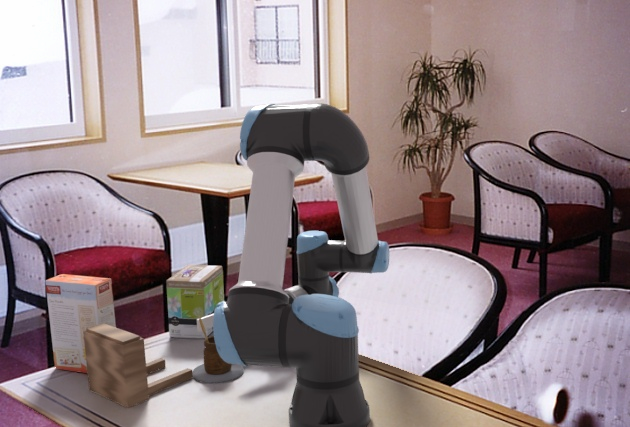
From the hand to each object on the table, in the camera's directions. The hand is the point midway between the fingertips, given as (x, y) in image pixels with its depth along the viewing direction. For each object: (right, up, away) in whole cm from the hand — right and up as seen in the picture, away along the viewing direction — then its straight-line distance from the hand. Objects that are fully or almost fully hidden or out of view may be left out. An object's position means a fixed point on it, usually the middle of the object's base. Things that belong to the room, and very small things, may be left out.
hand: (218, 331), depth 176 cm
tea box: (-8, -4, +30) cm, 31 cm away
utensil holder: (0, -9, +1) cm, 9 cm away
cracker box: (-30, -9, +7) cm, 32 cm away
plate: (0, -9, +1) cm, 9 cm away
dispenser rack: (-15, -11, -4) cm, 19 cm away
